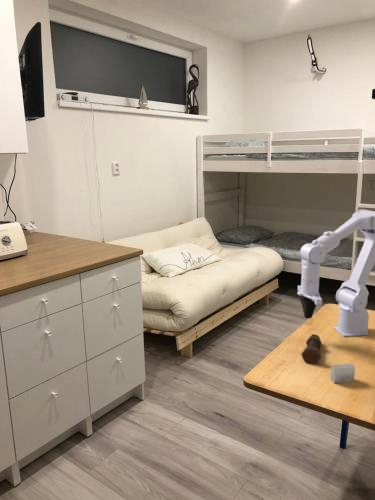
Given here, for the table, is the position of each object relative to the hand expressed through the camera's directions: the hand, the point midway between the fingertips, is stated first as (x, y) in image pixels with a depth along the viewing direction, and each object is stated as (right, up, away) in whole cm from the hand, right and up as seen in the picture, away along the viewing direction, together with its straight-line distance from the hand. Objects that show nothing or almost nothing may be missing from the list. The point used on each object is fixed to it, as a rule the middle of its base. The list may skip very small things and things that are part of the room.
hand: (308, 317), depth 140 cm
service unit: (+3, -14, -24) cm, 28 cm away
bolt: (-1, -11, -7) cm, 13 cm away
